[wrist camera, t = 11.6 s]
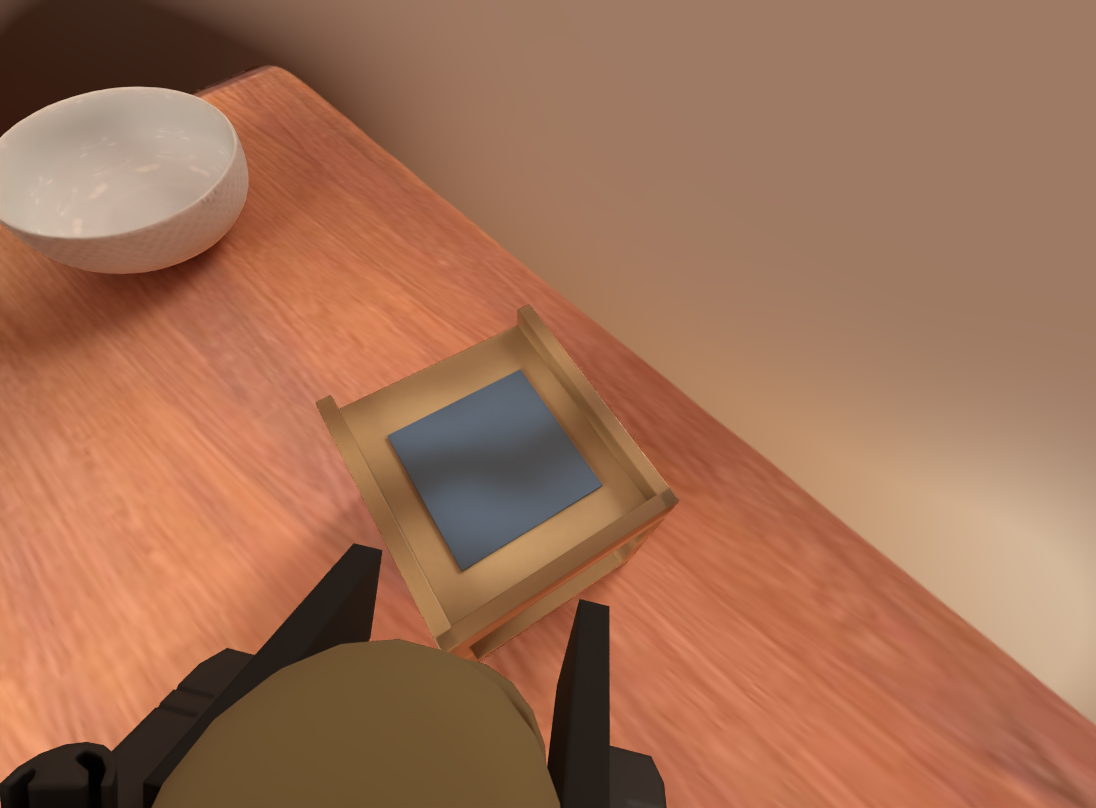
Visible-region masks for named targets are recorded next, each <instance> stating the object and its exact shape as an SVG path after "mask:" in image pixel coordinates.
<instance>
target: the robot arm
mask: <svg viewBox="0 0 1096 808" xmlns="http://www.w3.org/2000/svg"><path fill="white" fill-rule="evenodd" d="M381 556H382V550H379V549H375V548H371V547H367V546H363V545H359V544H355V543H354V544H353V545H352V546H351V547H350V548H349V549H348V550H347V552H346V553H345V554H344V555H343V556H342V557H341V558H340V559H339V561H338V562H337V563H336V564H335V565H334V566H333V567H332V569H331V570H330V571H329V572H328V573H327V574H326V575H325V576H324V578H323V579H322V580H321V581H320V582H319V583H318V584H317V586H316V587H315V588H314V589H313V590H312V591H311V592H310V593H309V595H308V596H307V597H306V598H305V599H304V600H303V601H302V603H301V604H300V605H299V606H298V607H297V608H296V609H295V610H294V612H293V613H292V614H291V615H290V616H289V617H288V618H287V620H286V621H285V622H284V623H283V624H282V625H281V626H280V627H279V629H278V630H277V631H276V632H275V633H274V634H273V635H272V637H271V638H270V639H269V640H268V641H267V642H266V643H265V644H264V646H263V647H262V648H261V649H260V650H259V651H258V652H257V654H256V655H252V654H248V653H244V652H240V651H237V650H233V649H229V648H226V649H225V650H223V651H221V652H219V653H218V654H216V655H214V656H212V657H211V658H209V659H207V660H205V661H203V662H202V663H200V664H199V665H198V666H197V667H196V668H195V669H194V670H193V671H192V672H191V673H190V674H189V675H188V676H187V677H186V678H185V679H184V680H183V681H182V682H181V683H180V684H179V685H178V687H177V689H176V690H173V691H172V692H171V693H170V694H169V695H168V696H167V697H166V698H165V699H164V700H163V701H162V702H161V703H160V705H159V707H158V708H155V709H154V710H153V711H152V712H151V713H150V714H149V715H148V716H147V717H146V718H145V719H144V720H143V721H142V722H141V723H140V724H139V725H138V726H137V727H136V728H135V729H134V730H133V731H132V732H131V733H130V734H129V735H128V736H127V737H126V738H125V739H124V740H123V741H122V742H121V743H120V744H119V745H118V746H117V747H116V748H115V749H114V750H113V751H112V752H111V751H110V750H109V749H108V748H107V747H106V746H104V745H100V744H95V743H90V742H82V743H74V744H66V745H63V746H60V747H57V748H54V749H51V750H49V751H46V752H43V753H41V754H39V755H37V756H36V757H34V758H32V759H31V760H29V761H27V762H26V763H24V764H22V765H21V766H19V767H17V768H16V769H15V770H14V771H13V772H12V773H11V774H10V775H9V776H8V777H7V778H6V779H5V780H4V781H2V782H1V783H0V801H1V808H152V806H153V804H154V801H155V799H156V797H157V795H158V793H159V791H160V789H161V787H162V785H163V783H164V782H165V781H166V779H167V778H168V777H169V775H170V774H171V773H172V772H173V770H174V769H175V768H176V767H177V765H178V764H179V763H180V762H181V760H182V759H183V758H184V757H185V755H186V754H187V753H188V752H189V750H190V749H191V748H192V747H193V745H194V744H195V743H196V742H197V740H198V739H199V738H200V737H201V735H202V734H203V733H204V731H205V730H206V729H207V728H208V726H209V725H210V724H211V723H212V721H213V720H214V719H215V718H217V717H218V716H219V715H221V714H222V713H223V712H224V711H226V710H227V709H228V708H230V707H231V706H232V705H233V704H235V703H236V702H237V701H239V700H240V699H241V698H243V697H244V696H245V695H246V694H248V693H249V692H250V691H252V690H253V689H254V688H255V687H257V686H258V685H259V684H261V683H262V682H263V681H264V680H266V679H267V678H268V677H270V676H271V675H272V674H274V673H276V672H277V671H279V670H280V669H282V668H284V667H286V666H289V665H291V664H294V663H296V662H298V661H301V660H303V659H306V658H308V657H311V656H313V655H315V654H318V653H320V652H323V651H325V650H328V649H330V648H332V647H335V646H337V645H340V644H346V643H358V642H368V641H369V639H370V637H371V629H372V622H373V615H374V607H375V600H376V593H377V586H378V578H379V571H380V564H381ZM547 768H548V771H549V774H550V777H551V780H552V782H553V785H554V788H555V791H556V794H557V797H558V800H559V802H560V808H667V807H666V797H665V788H664V782H663V780H662V778H661V776H660V774H659V772H658V770H657V768H656V765H655V763H654V761H653V759H652V757H651V756H648V755H644V754H641V753H637V752H633V751H629V750H625V749H621V748H617V747H614V746H610V703H609V606H606V605H602V604H598V603H594V602H590V601H585V600H581V599H580V600H579V603H578V607H577V611H576V615H575V619H574V623H573V626H572V630H571V634H570V638H569V642H568V646H567V649H566V653H565V657H564V661H563V665H562V669H561V672H560V676H559V680H558V684H557V690H556V698H555V706H554V715H553V723H552V731H551V740H550V748H549V756H548V765H547Z"/></svg>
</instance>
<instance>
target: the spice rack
mask: <svg viewBox="0 0 1096 808" xmlns="http://www.w3.org/2000/svg"><path fill="white" fill-rule="evenodd" d="M316 406H317V408H318V410H319V412H320V414H321V416H322V418H323V420H324V422H325V424H326V426H327V428H328V430H329V432H330V434H331V436H332V437H333V439H334V441H335V443H336V445H337V447H338V449H339V451H340V453H341V455H342V457H343V459H344V461H345V463H346V465H347V467H348V469H349V471H350V473H351V475H352V477H353V479H354V481H355V483H356V485H357V487H358V489H359V491H360V493H361V495H362V497H363V499H364V501H365V503H366V505H367V507H368V509H369V511H370V513H371V515H372V517H373V519H374V521H375V523H376V525H377V527H378V529H379V531H380V533H381V535H382V537H383V539H384V541H385V543H386V545H387V547H388V549H389V551H390V553H391V555H392V557H393V559H394V561H395V563H396V565H397V567H398V569H399V571H400V573H401V575H402V577H403V579H404V581H405V583H406V585H407V587H408V589H409V591H410V593H411V595H412V597H413V599H414V601H415V603H416V605H417V607H418V609H419V611H420V613H421V615H422V617H423V619H424V621H425V623H426V625H427V627H428V629H429V631H430V633H431V635H432V637H433V638H434V640H435V642H436V644H437V646H438V648H439V650H442V651H445V652H449V653H453V654H454V655H456V656H457V657H460V658H464V659H467V660H471V661H475V662H479V661H480V660H482V659H483V658H484V657H486V656H487V655H489V654H490V653H492V652H493V651H495V650H496V649H498V648H499V647H501V646H502V645H504V644H505V643H507V642H508V641H510V640H511V639H513V638H514V637H516V636H517V635H519V634H520V633H522V632H523V631H525V630H526V629H528V628H529V627H531V626H532V625H533V624H535V623H536V622H538V621H539V620H541V619H542V618H544V617H545V616H547V615H548V614H550V613H551V612H553V611H554V610H556V609H557V608H559V607H560V606H562V605H563V604H565V603H566V602H568V601H569V600H571V599H572V598H574V597H575V596H577V595H578V594H580V593H581V592H582V591H584V590H585V589H587V588H588V587H590V586H591V585H593V584H594V583H596V582H597V581H599V580H600V579H602V578H603V577H605V576H606V575H608V574H609V573H611V572H612V571H614V570H615V569H617V568H618V567H620V566H621V565H623V564H624V563H626V562H627V561H629V560H630V558H631V557H632V556H633V555H634V554H635V552H636V551H637V550H638V549H639V548H640V547H641V545H642V544H643V543H644V542H645V541H646V540H647V538H648V537H649V536H650V535H651V534H652V532H653V531H654V530H655V529H656V528H657V527H658V525H659V524H660V523H661V522H662V521H663V520H664V518H665V517H666V516H667V515H668V513H669V512H670V511H671V510H672V509H673V508H674V506H675V505H676V504H677V503H678V502H679V499H678V497H677V496H676V495H675V493H674V492H673V491H672V489H671V488H670V487H669V486H668V484H667V483H666V482H665V480H664V479H663V478H662V477H661V475H660V474H659V473H658V471H657V470H656V469H655V467H654V466H653V465H652V463H651V462H650V461H649V460H648V458H647V457H646V456H645V454H644V453H643V452H642V450H641V449H640V448H639V447H638V445H637V444H636V443H635V441H634V440H633V439H632V437H631V436H630V435H629V433H628V432H627V431H626V430H625V428H624V427H623V426H622V424H621V423H620V422H619V420H618V419H617V418H616V416H615V415H614V414H613V413H612V411H611V410H610V409H609V407H608V406H607V405H606V403H605V402H604V401H603V400H602V398H601V397H600V396H599V394H598V393H597V392H596V390H595V389H594V388H593V386H592V385H591V384H590V383H589V381H588V380H587V379H586V377H585V376H584V375H583V373H582V372H581V371H580V369H579V368H578V367H577V366H576V364H575V363H574V362H573V360H572V359H571V358H570V356H569V355H568V354H567V353H566V351H565V350H564V349H563V347H562V346H561V345H560V343H559V342H558V341H557V339H556V338H555V337H554V336H553V334H552V333H551V332H550V330H549V329H548V328H547V326H546V325H545V324H544V322H543V321H542V320H541V319H540V317H539V316H538V315H537V313H536V312H535V311H534V309H533V308H532V307H531V305H526V306H524V307H522V308H520V309H518V313H517V326H515V327H513V328H510V329H508V330H506V331H504V332H502V333H500V334H498V335H496V336H493V337H491V338H489V339H487V340H485V341H483V342H481V343H478V344H476V345H474V346H472V347H470V348H468V349H466V350H464V351H461V352H459V353H457V354H455V355H453V356H451V357H449V358H447V359H444V360H442V361H440V362H438V363H436V364H434V365H432V366H429V367H427V368H425V369H423V370H421V371H419V372H417V373H415V374H412V375H410V376H408V377H406V378H404V379H402V380H400V381H398V382H395V383H393V384H391V385H389V386H387V387H385V388H383V389H381V390H378V391H376V392H374V393H372V394H370V395H368V396H366V397H363V398H361V399H359V400H357V401H355V402H353V403H351V404H349V405H346V406H344V407H342V408H340V409H339V408H338V406H337V405H336V403H335V401H334V399H333V398H332V396H331V395H330V396H328V397H326V398H323V399H321V400H319V401H317V402H316Z"/></svg>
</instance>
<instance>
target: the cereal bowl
mask: <svg viewBox="0 0 1096 808" xmlns="http://www.w3.org/2000/svg"><path fill="white" fill-rule="evenodd" d="M248 183H249V176H248V168H247V161H246V158H245V154H244V151H243V149H242V145H241V142H240V140H239V137H238V135H237V133H236V131H235V129H234V127H233V125H232V124H231V122H230V121H229V120H228V118H227V117H226V116H225V115H224V114H223V113H222V112H221V111H220V110H218V109H217V108H216V107H215V106H213V105H212V104H210V103H208V102H207V101H205V100H203V99H201V98H198V97H196V96H193V95H190V94H187V93H184V92H179V91H175V90H170V89H163V88H151V87H124V88H123V87H122V88H113V89H105V90H100V91H94V92H90V93H86V94H82V95H78V96H74V97H71V98H68V99H65V100H62V101H59V102H57V103H54V104H52V105H49V106H47V107H45V108H43V109H41V110H39V111H37V112H35V113H33V114H32V115H30V116H28V117H26V118H25V119H23V120H22V121H20V122H19V123H17V124H16V125H14V126H13V127H12V128H11V129H10V130H8V131H7V132H6V133H5V134H4V135H3V136H2V137H1V138H0V223H1V224H2V225H3V226H4V228H6V229H7V230H9V231H10V232H11V233H12V234H13V235H14V236H15V237H17V238H18V239H20V240H21V241H22V242H23V243H24V244H26V245H28V246H29V247H31V248H32V249H33V250H35V251H37V252H39V253H41V254H42V255H44V256H45V257H48V258H50V259H52V260H54V261H56V262H59V263H62V264H64V265H66V266H72V267H74V268H77V269H83V270H86V271H89V272H98V273H109V274H129V273H134V274H135V273H144V272H150V271H156V270H158V269H163V268H168V267H170V266H173V265H175V264H180V263H181V262H184V261H186V260H188V259H191V258H193V257H194V256H197V255H198V254H200V253H203V252H204V251H205V250H207V249H209V248H210V247H212V246H213V245H214V244H215V243H217V242H218V241H219V240H220V239H221V238H222V237H223V236H224V235H225V234H226V233H227V232H228V231H229V230H230V229H231V227H232V226H233V224H234V223H235V222H236V221H237V219H238V217H239V216H240V213H241V212H242V210H243V206H244V205H245V203H246V198H247V193H248V189H249V184H248Z"/></svg>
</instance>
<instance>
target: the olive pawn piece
mask: <svg viewBox="0 0 1096 808" xmlns="http://www.w3.org/2000/svg"><path fill="white" fill-rule="evenodd" d="M152 808H560V802H559V800H558V797H557V794H556V791H555V788H554V785H553V782H552V780H551V777H550V774H549V771H548V768H547V765H546V753H545V744H544V741H543V738H542V735H541V733H540V730H539V727H538V724H537V721H536V719H535V716H534V713H533V710H532V709H531V707H530V706H529V705H528V703H527V702H526V701H525V699H524V698H523V697H522V695H521V694H520V693H519V691H518V690H517V689H516V687H515V686H514V685H513V683H512V682H510V681H509V680H508V679H506V678H505V677H503V676H502V675H500V674H499V673H497V672H496V671H495V670H493V669H492V668H490V667H489V666H487V665H486V664H482V663H479V662H475V661H471V660H467V659H464V658H460V657H457V656H456V655H454V654H453V653H449V652H445V651H442V650H438V649H434V648H430V647H427V646H423V645H419V644H415V643H412V642H408V641H404V640H400V639H394V640H382V641H370V642H358V643H346V644H340V645H337V646H335V647H332V648H330V649H328V650H325V651H323V652H320V653H318V654H315V655H313V656H311V657H308V658H306V659H303V660H301V661H298V662H296V663H294V664H291V665H289V666H286V667H284V668H282V669H280V670H279V671H277V672H276V673H274V674H272V675H271V676H270V677H268V678H267V679H266V680H264V681H263V682H262V683H261V684H259V685H258V686H257V687H255V688H254V689H253V690H252V691H250V692H249V693H248V694H246V695H245V696H244V697H243V698H241V699H240V700H239V701H237V702H236V703H235V704H233V705H232V706H231V707H230V708H228V709H227V710H226V711H224V712H223V713H222V714H221V715H219V716H218V717H217V718H215V719H214V720H213V721H212V723H211V724H210V725H209V726H208V728H207V729H206V730H205V731H204V733H203V734H202V735H201V737H200V738H199V739H198V740H197V742H196V743H195V744H194V745H193V747H192V748H191V749H190V750H189V752H188V753H187V754H186V755H185V757H184V758H183V759H182V760H181V762H180V763H179V764H178V765H177V767H176V768H175V769H174V770H173V772H172V773H171V774H170V775H169V777H168V778H167V779H166V781H165V782H164V783H163V785H162V787H161V789H160V791H159V793H158V795H157V797H156V799H155V801H154V804H153V806H152Z"/></svg>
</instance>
